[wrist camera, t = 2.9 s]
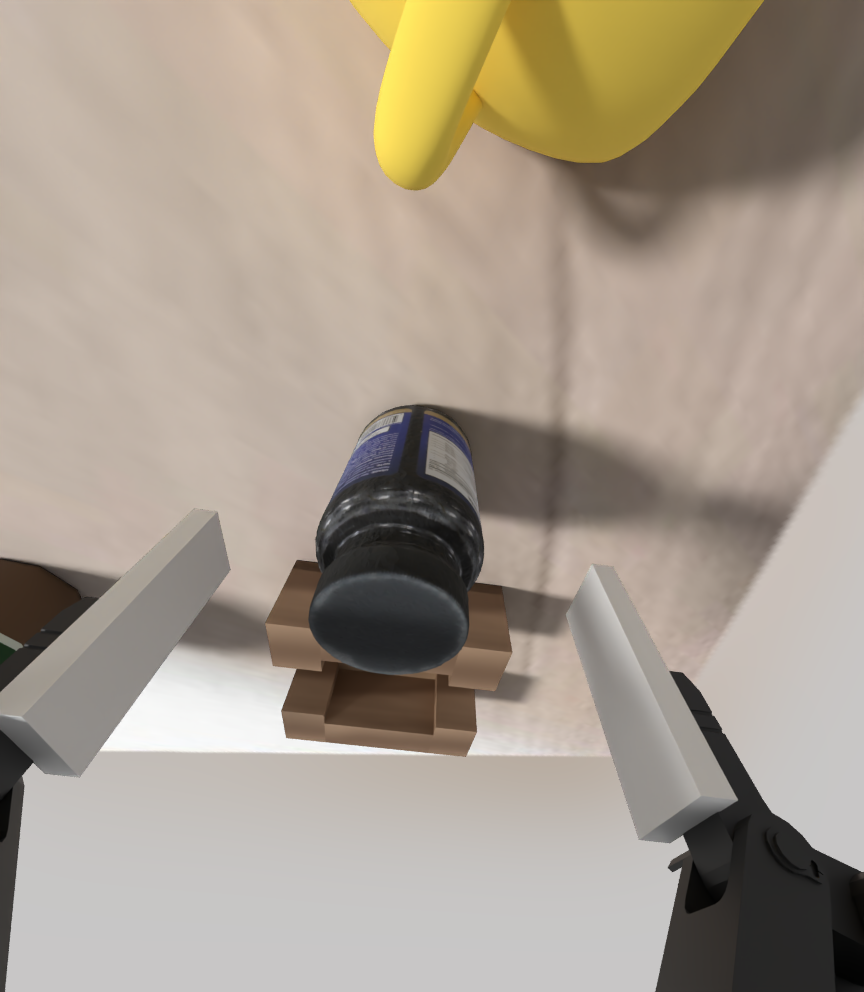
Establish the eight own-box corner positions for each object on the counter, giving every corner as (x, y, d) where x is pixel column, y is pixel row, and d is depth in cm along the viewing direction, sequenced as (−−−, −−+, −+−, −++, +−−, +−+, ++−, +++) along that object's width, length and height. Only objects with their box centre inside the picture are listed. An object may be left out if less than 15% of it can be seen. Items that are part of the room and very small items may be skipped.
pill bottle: (363, 499, 21) (298, 683, 12) (353, 398, 18) (254, 545, 9) (467, 504, 21) (482, 693, 12) (478, 403, 18) (509, 558, 9)
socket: (296, 560, 24) (265, 623, 20) (501, 586, 25) (512, 652, 21) (307, 675, 32) (286, 738, 28) (463, 692, 33) (465, 756, 28)
